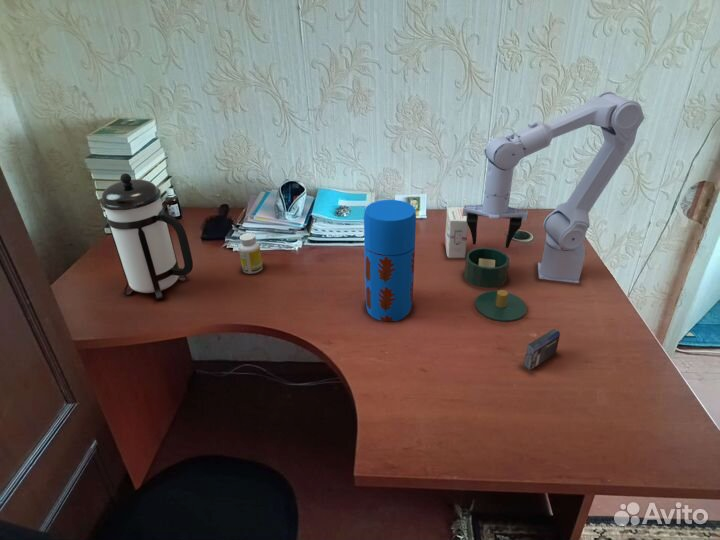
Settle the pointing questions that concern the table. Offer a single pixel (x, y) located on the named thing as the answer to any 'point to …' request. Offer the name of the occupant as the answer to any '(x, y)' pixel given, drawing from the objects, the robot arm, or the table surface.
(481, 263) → the block
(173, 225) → the coffee press
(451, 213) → the ink cartridge box
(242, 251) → the supplement bottle
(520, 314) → the tin lid
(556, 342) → the mini dv tape
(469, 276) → the tin
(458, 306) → the table surface
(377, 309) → the thermos
